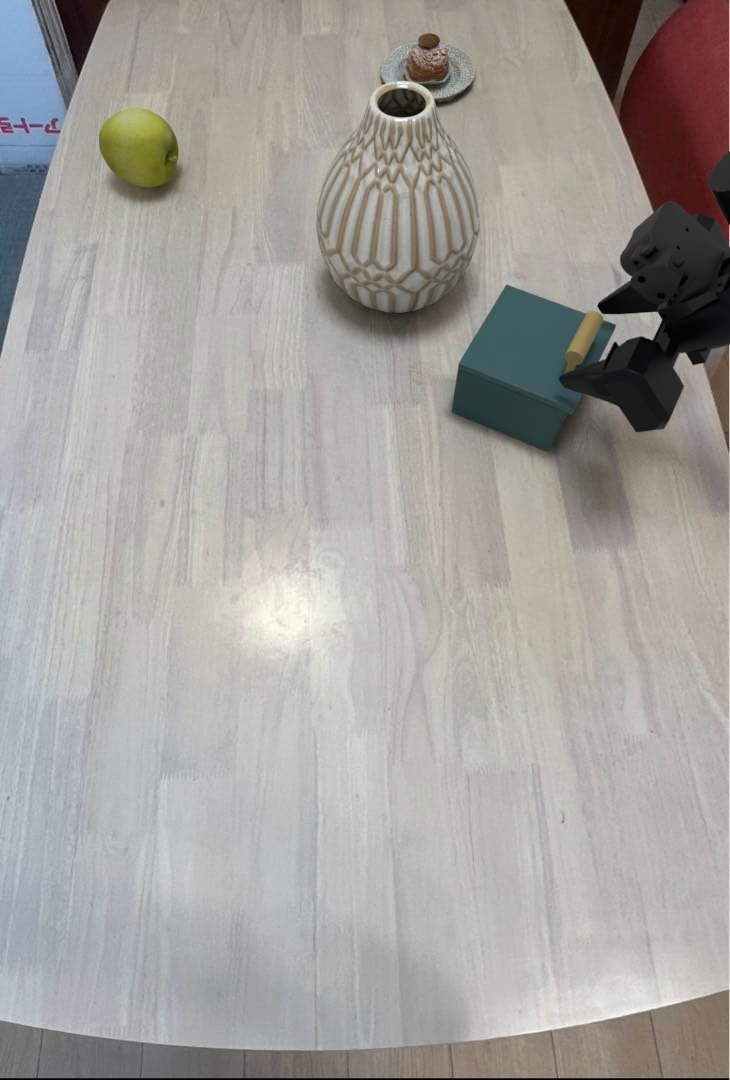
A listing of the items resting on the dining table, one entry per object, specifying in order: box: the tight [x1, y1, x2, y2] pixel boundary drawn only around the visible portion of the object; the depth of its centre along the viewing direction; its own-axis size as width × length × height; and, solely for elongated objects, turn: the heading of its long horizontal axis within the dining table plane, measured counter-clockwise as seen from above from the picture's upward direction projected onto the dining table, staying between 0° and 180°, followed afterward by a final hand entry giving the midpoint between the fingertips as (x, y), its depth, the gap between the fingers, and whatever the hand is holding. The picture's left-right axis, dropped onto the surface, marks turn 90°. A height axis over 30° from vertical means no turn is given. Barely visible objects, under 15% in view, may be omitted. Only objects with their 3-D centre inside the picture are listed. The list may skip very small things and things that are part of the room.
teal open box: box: [451, 368, 569, 453], centre depth 71 cm, size 10×11×6 cm
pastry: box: [380, 32, 476, 104], centre depth 94 cm, size 12×12×5 cm
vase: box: [315, 81, 481, 314], centre depth 71 cm, size 16×16×20 cm
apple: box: [98, 107, 180, 188], centre depth 84 cm, size 8×9×8 cm
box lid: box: [457, 284, 617, 415], centre depth 66 cm, size 11×11×4 cm
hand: (581, 344), depth 65 cm, fingers open, 9 cm apart
